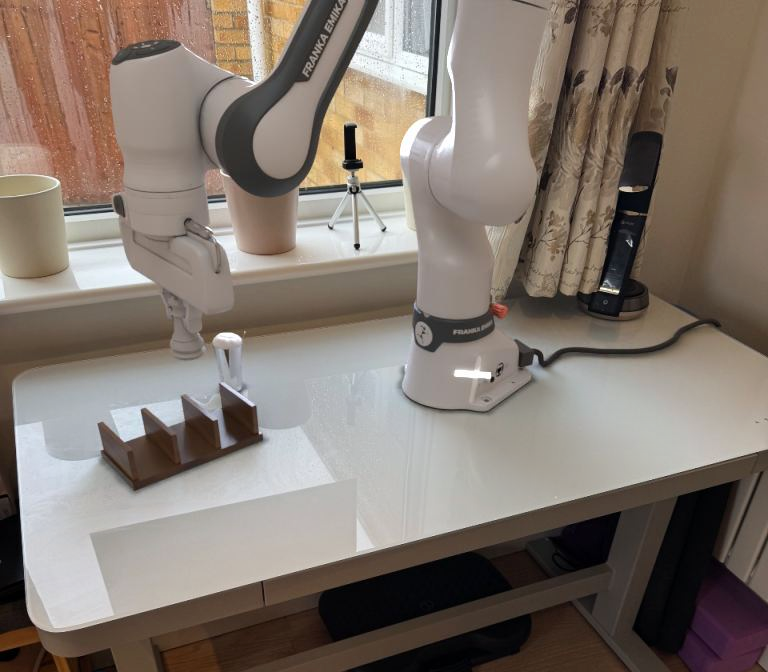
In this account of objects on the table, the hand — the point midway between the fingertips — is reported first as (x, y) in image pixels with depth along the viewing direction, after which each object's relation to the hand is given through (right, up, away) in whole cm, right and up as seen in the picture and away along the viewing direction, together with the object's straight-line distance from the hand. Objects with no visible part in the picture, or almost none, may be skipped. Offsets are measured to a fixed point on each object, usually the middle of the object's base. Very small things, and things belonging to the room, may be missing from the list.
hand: (184, 324), depth 93 cm
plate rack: (-3, -14, +13) cm, 20 cm away
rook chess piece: (0, -3, +2) cm, 4 cm away
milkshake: (+1, -4, +28) cm, 28 cm away
